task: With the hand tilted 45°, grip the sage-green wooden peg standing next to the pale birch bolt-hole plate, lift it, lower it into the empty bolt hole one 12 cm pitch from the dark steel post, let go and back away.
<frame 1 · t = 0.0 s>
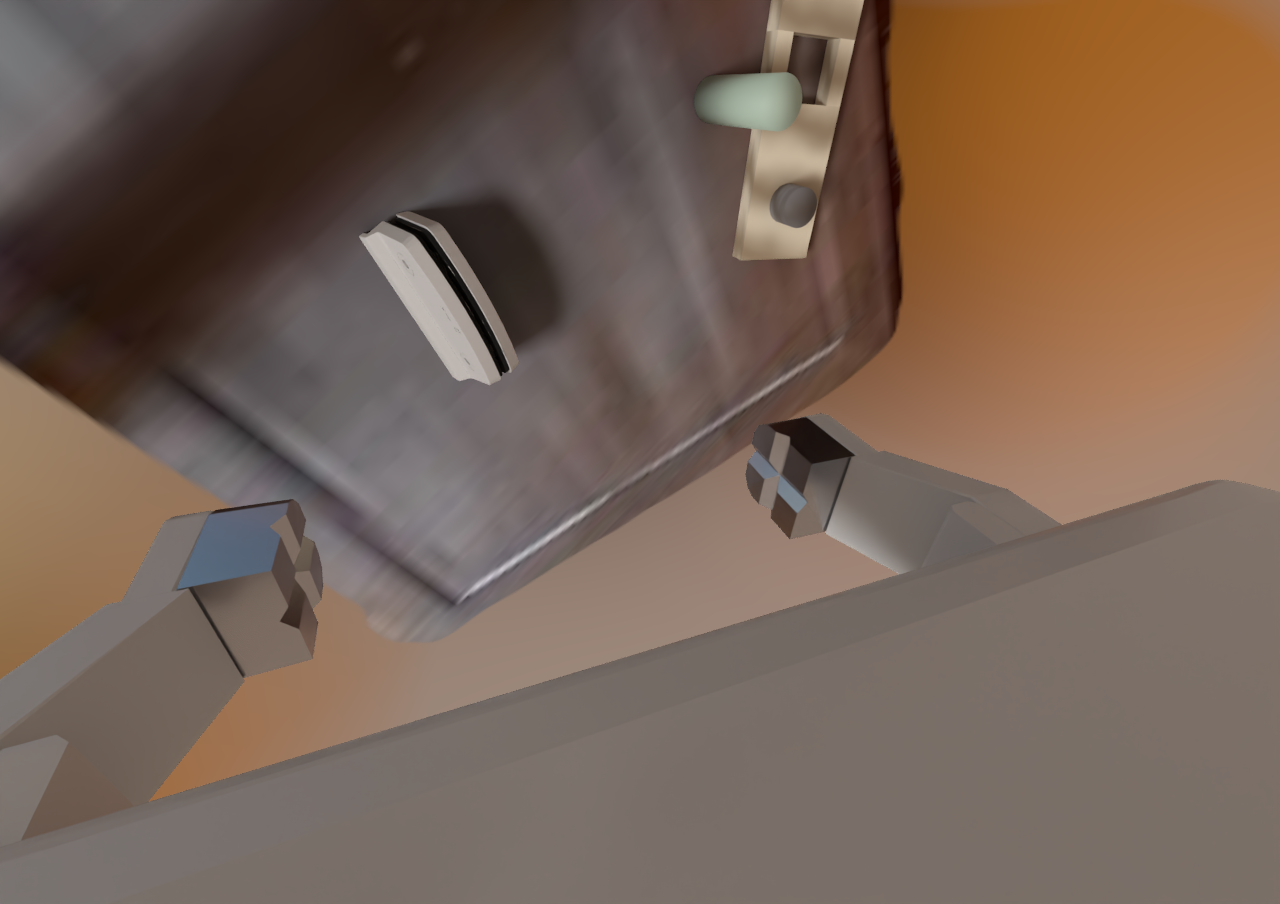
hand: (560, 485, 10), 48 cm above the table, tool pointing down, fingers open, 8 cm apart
hole plate: (786, 139, 56), on the table
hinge: (445, 295, 53), on the table
peg: (712, 100, 52), on the table
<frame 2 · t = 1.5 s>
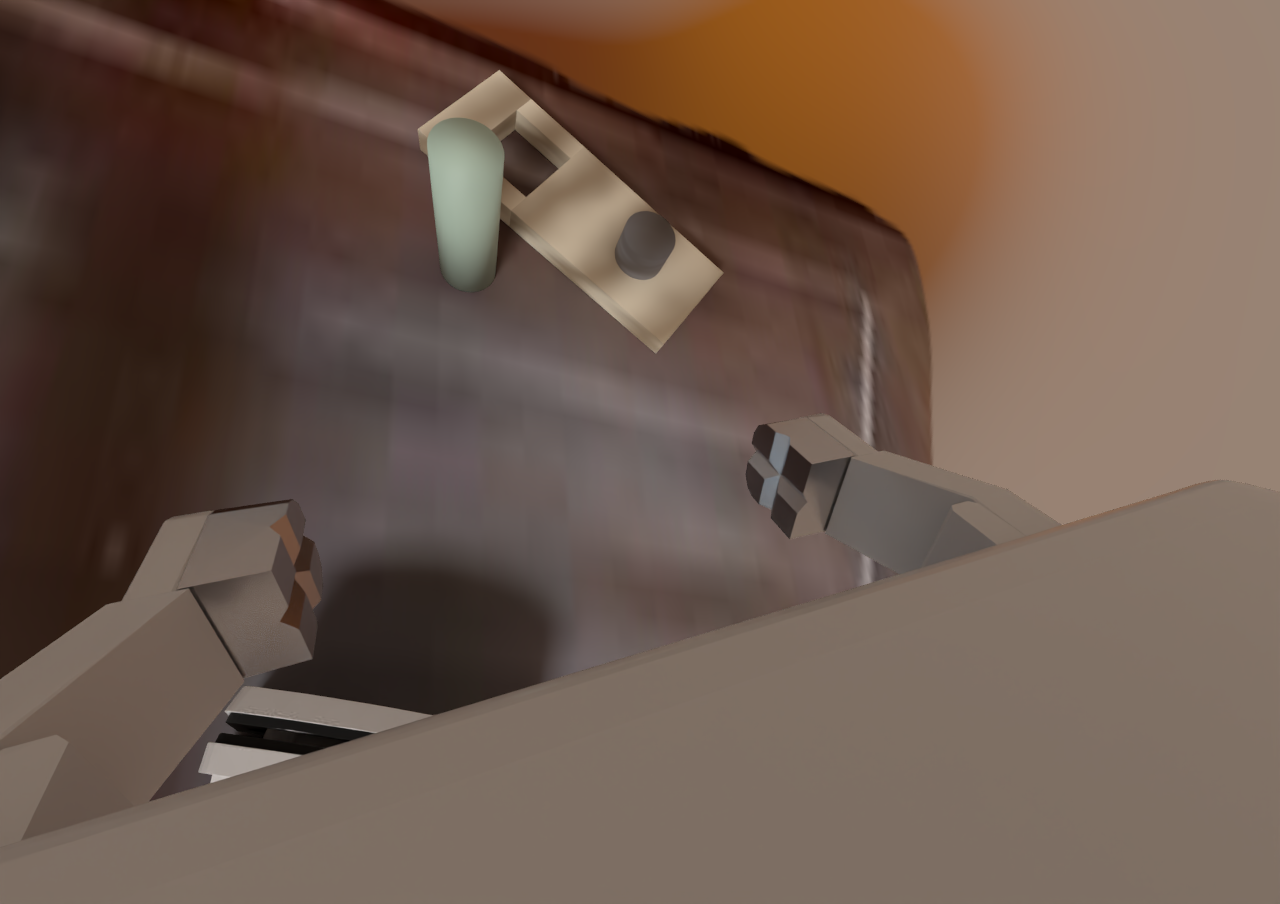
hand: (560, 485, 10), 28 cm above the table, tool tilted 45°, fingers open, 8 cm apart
hole plate: (576, 221, 43), on the table
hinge: (391, 743, 32), on the table
peg: (468, 267, 40), on the table
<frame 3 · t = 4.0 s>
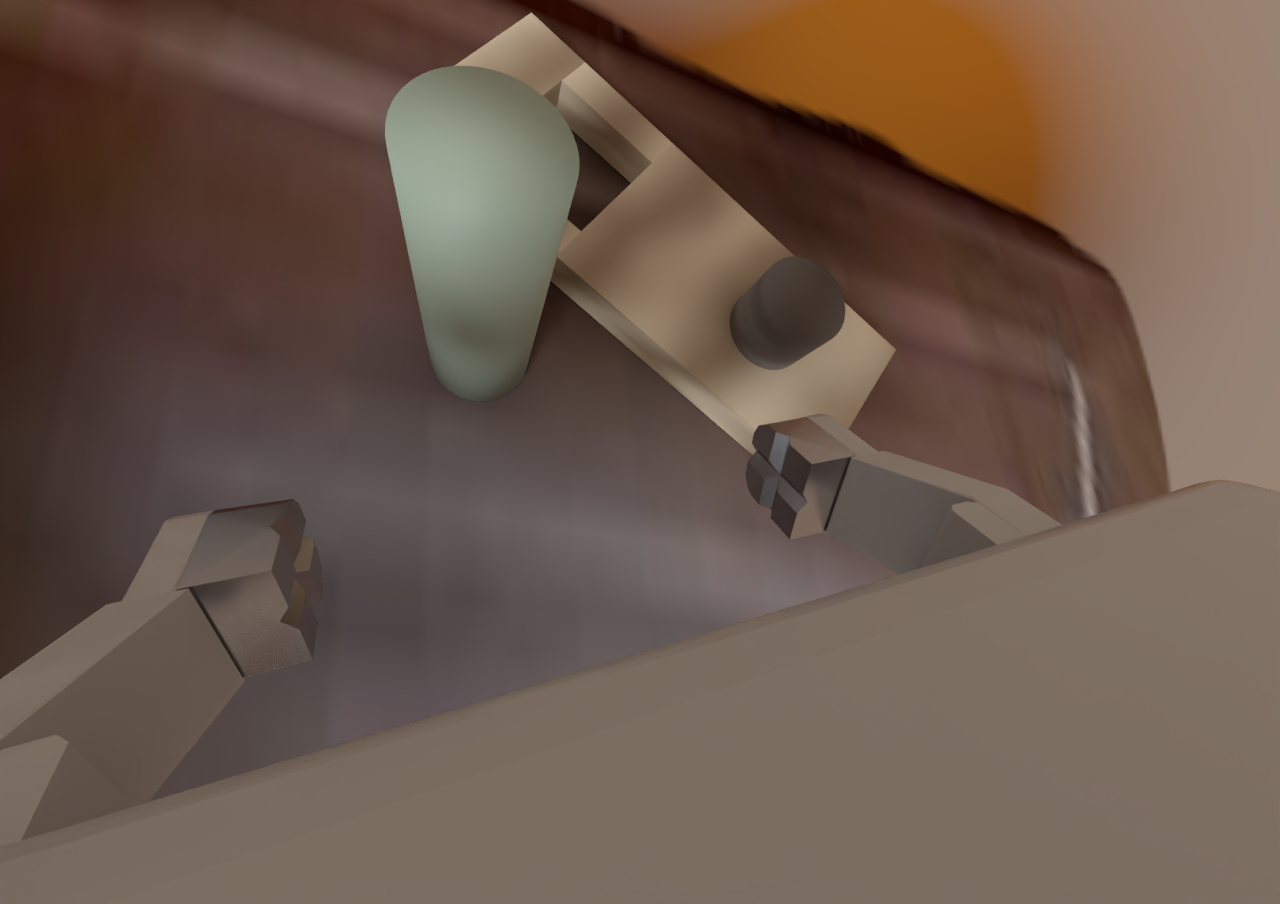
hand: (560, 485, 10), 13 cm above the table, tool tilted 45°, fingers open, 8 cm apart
hole plate: (657, 267, 26), on the table
peg: (480, 357, 22), on the table
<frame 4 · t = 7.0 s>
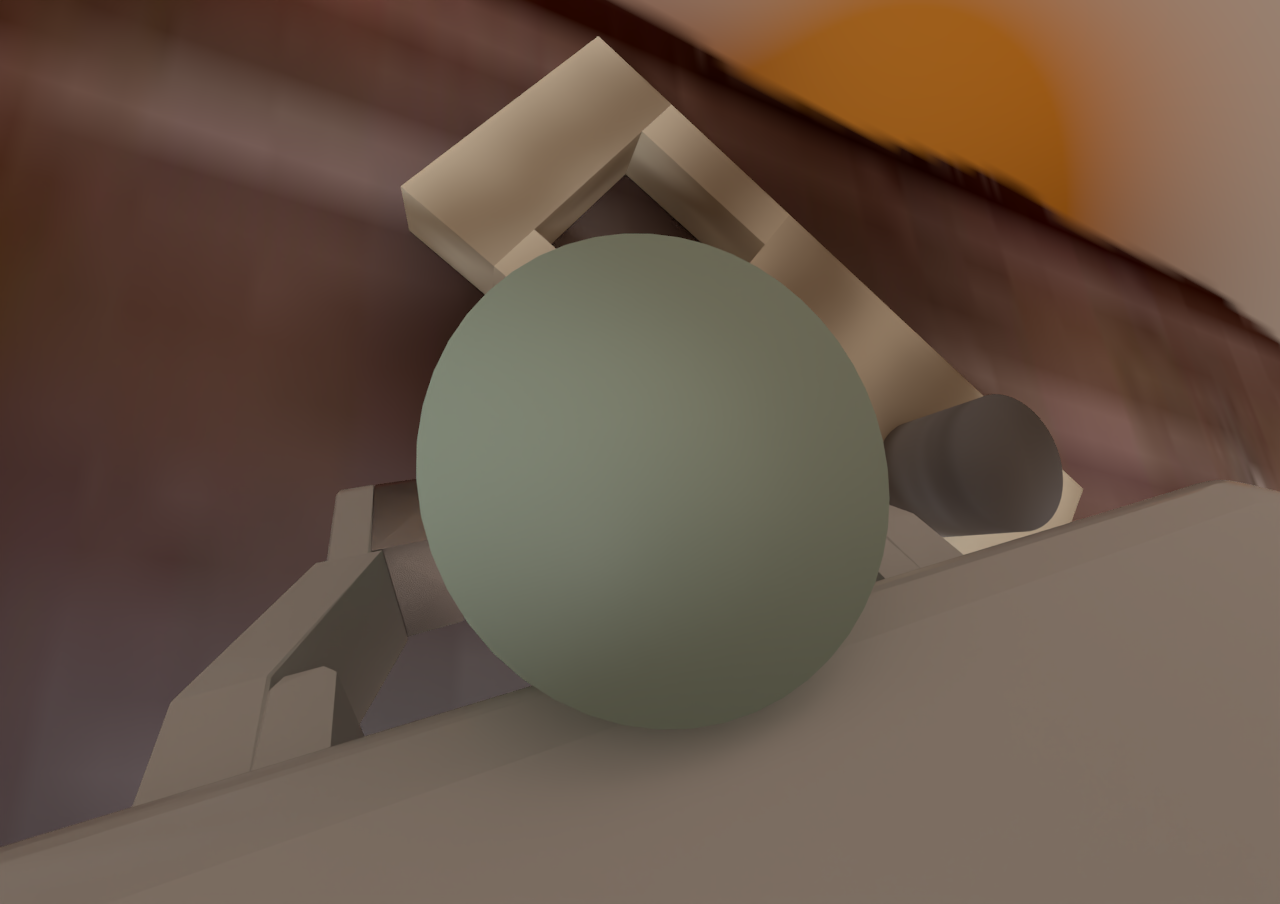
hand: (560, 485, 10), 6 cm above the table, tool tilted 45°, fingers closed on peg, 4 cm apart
hole plate: (765, 382, 19), on the table
peg: (531, 539, 15), on the table, touching gripper
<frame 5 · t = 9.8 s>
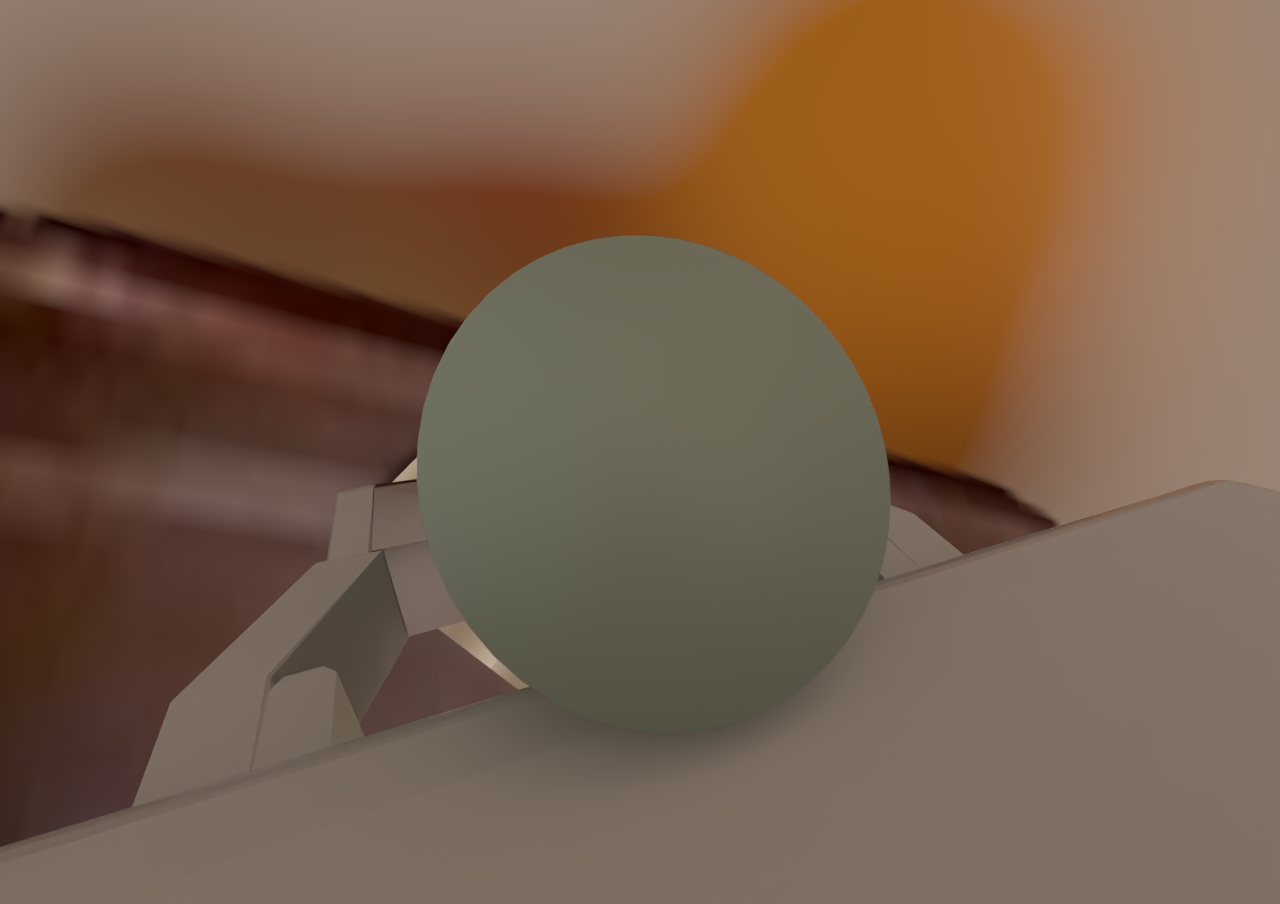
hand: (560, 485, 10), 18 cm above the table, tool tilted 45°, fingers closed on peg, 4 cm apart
hole plate: (597, 622, 27), on the table
peg: (531, 540, 15), point 12 cm above the table, touching gripper
when the fingers open (8 cm above the table, at t = 12.9 s): peg drops 1 cm, resting in hole plate.
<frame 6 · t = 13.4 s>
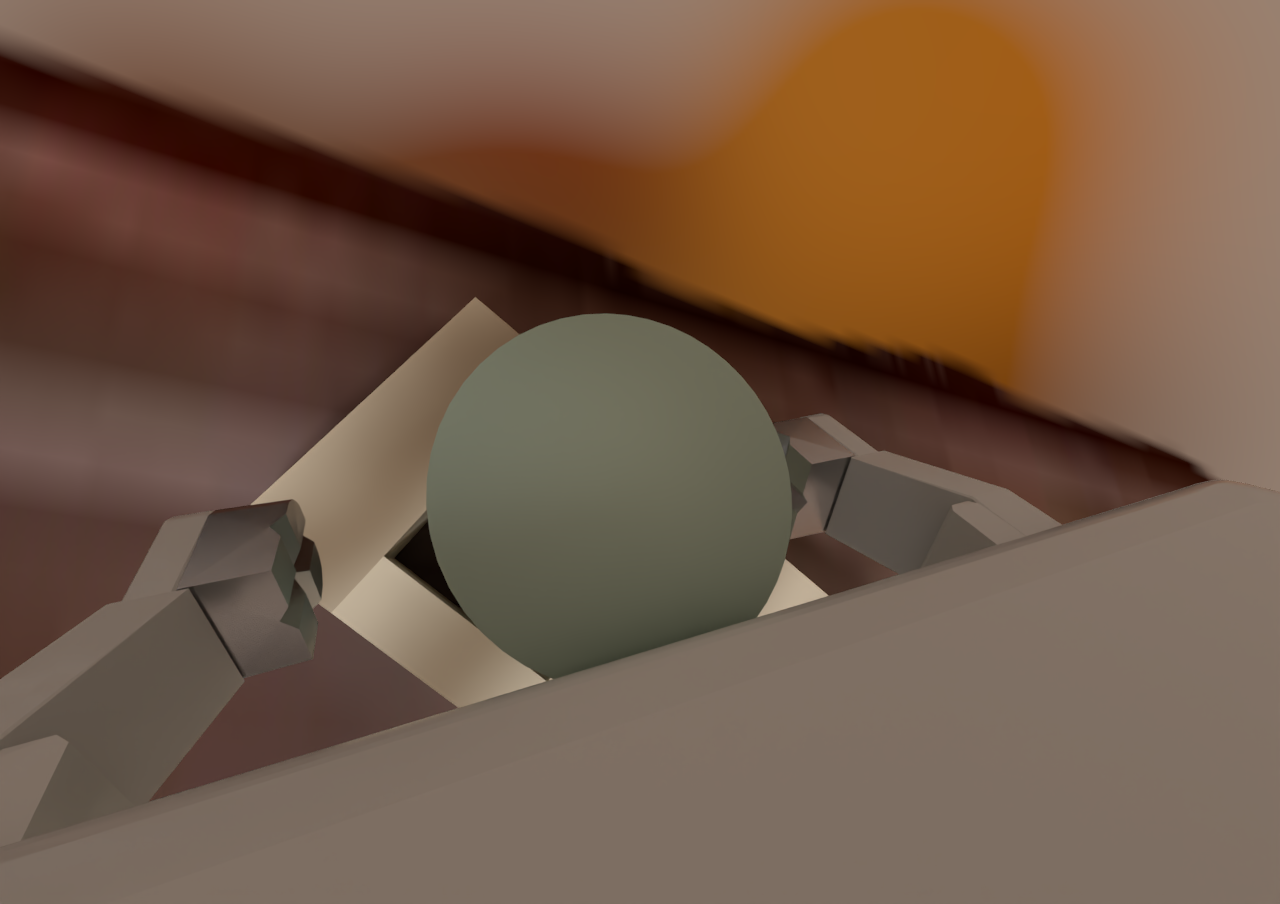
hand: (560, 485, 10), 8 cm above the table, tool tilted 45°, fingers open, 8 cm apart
hole plate: (668, 654, 17), on the table
peg: (524, 542, 17), resting in hole plate
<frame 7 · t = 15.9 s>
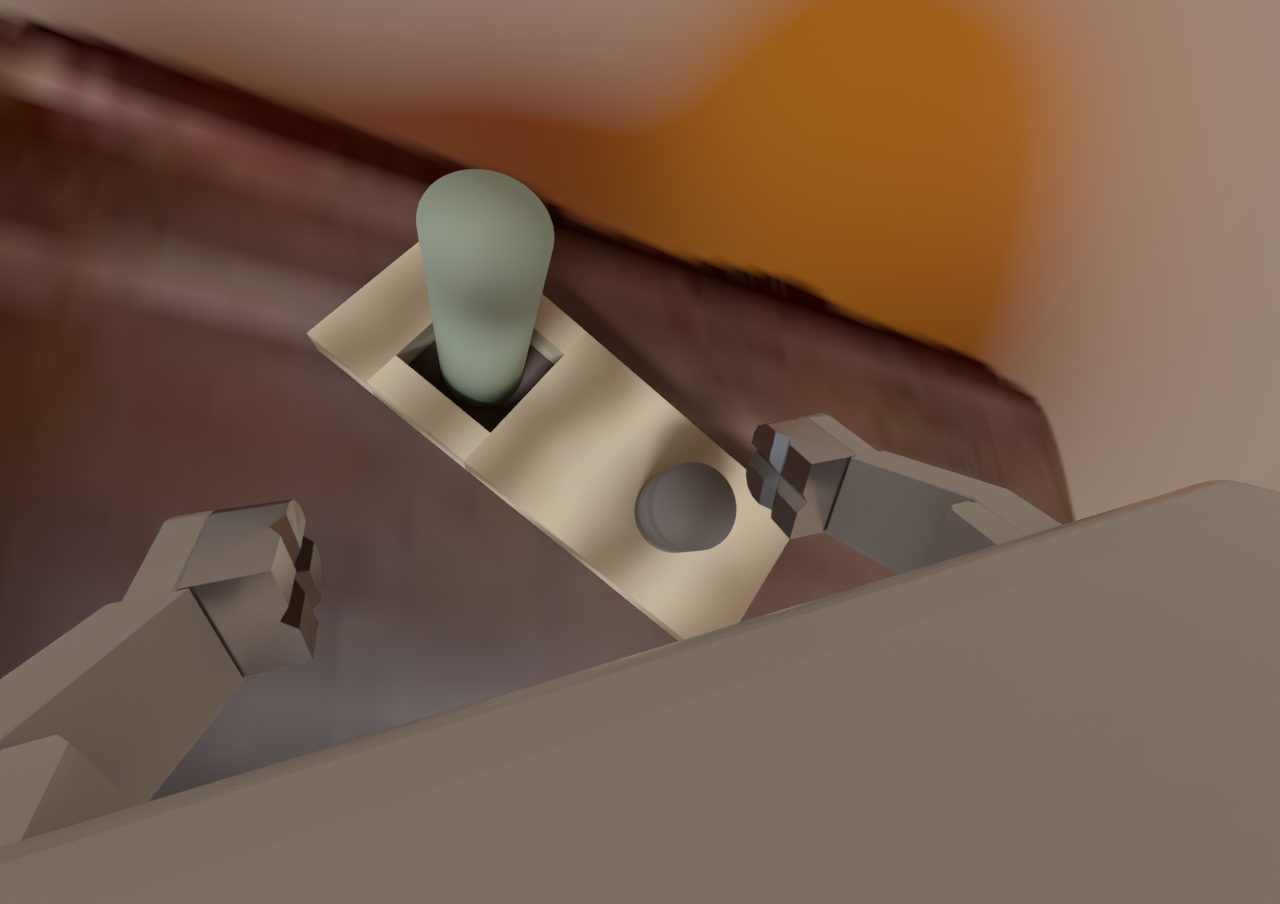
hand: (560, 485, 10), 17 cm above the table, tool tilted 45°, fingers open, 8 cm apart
hole plate: (573, 444, 28), on the table
peg: (482, 370, 27), resting in hole plate
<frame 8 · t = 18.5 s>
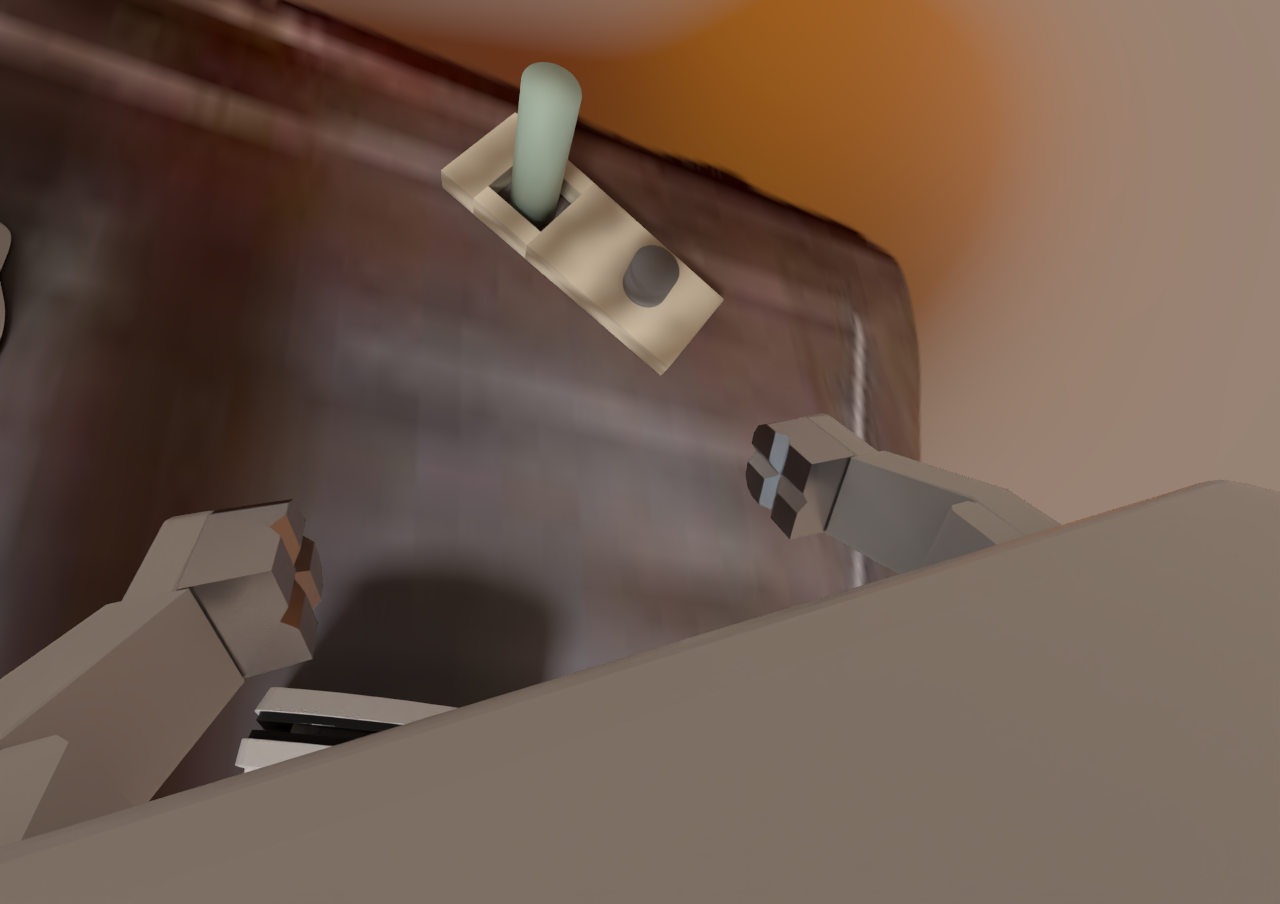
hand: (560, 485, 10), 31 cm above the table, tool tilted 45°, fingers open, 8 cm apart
hole plate: (586, 252, 46), on the table
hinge: (405, 735, 35), on the table
peg: (532, 206, 46), resting in hole plate
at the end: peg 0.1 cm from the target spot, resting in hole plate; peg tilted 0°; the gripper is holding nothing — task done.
